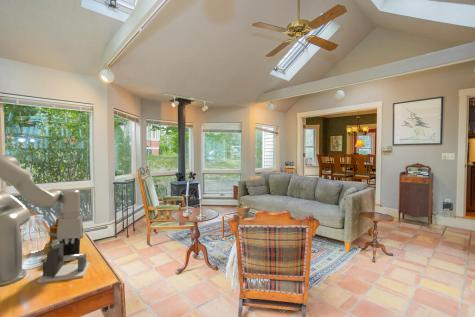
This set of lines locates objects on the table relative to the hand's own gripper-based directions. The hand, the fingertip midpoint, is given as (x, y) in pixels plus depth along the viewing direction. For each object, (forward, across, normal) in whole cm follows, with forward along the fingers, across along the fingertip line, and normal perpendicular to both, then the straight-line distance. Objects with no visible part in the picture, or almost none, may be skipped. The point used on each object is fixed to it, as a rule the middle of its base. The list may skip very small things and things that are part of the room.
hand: (70, 250), depth 117 cm
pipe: (+10, -2, -2) cm, 11 cm away
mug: (+11, -17, +38) cm, 43 cm away
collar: (+8, -6, -1) cm, 10 cm away
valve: (+11, -14, +25) cm, 31 cm away
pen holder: (+11, -5, +16) cm, 19 cm away
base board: (+10, -2, -2) cm, 11 cm away
